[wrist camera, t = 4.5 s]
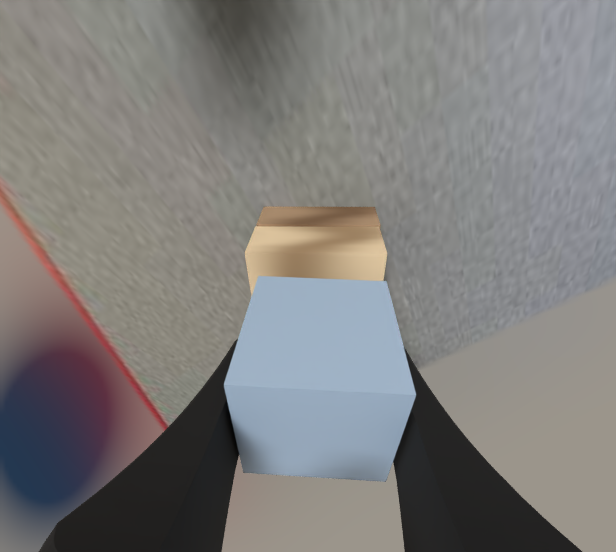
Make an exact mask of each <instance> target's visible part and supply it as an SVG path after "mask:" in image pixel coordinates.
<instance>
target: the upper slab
mask: <svg viewBox="0 0 616 552" xmlns="http://www.w3.org/2000/svg"><path fill="white" fill-rule="evenodd" d="M245 258H246V264H247V270H248V277H249V283H250V289H251V295H252V294H253V291H254V288H255V285H256V282H257V278H258V276H271V277H296V278H320V279H344V280H368V281H383V280H384V273H385V266H386V259H387V251H386V248H385V245H384V241H383V238H382V235H381V231H380V228H379V227H275V226H256V227H255V229H254V231H253V234H252V236H251V239H250V241H249V244H248V246H247V249H246V251H245Z"/></svg>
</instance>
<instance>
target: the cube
mask: <svg viewBox="0 0 616 552" xmlns="http://www.w3.org/2000/svg"><path fill="white" fill-rule="evenodd" d="M224 388H225V393H226V397H227V402H228V406H229V411H230V415H231V420H232V424H233V428H234V433H235V437H236V442H237V446H238V451H239V455H240V459H241V464H242V468H243V472H244V473H257V474H272V475H273V474H274V475H288V476H305V477H321V478H336V479H351V480H367V481H384V482H386V480H387V477H388V474H389V471H390V468H391V465H392V463H393V460H394V457H395V454H396V451H397V449H398V446H399V443H400V440H401V437H402V434H403V431H404V429H405V426H406V423H407V420H408V417H409V414H410V412H411V409H412V406H413V403H414V400H415V397H416V392H415V388H414V385H413V381H412V377H411V373H410V369H409V365H408V362H407V358H406V354H405V350H404V346H403V343H402V339H401V335H400V331H399V327H398V323H397V320H396V316H395V312H394V308H393V304H392V300H391V297H390V293H389V289H388V285H387V281H368V280H344V279H320V278H296V277H271V276H258V278H257V282H256V285H255V288H254V291H253V294H252V297H251V300H250V304H249V307H248V310H247V313H246V316H245V319H244V322H243V326H242V329H241V332H240V335H239V338H238V341H237V344H236V348H235V351H234V354H233V357H232V360H231V363H230V367H229V370H228V373H227V376H226V379H225V382H224Z"/></svg>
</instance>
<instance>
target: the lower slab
mask: <svg viewBox="0 0 616 552" xmlns="http://www.w3.org/2000/svg"><path fill="white" fill-rule="evenodd" d="M257 226H275V227H379V228H380V222H379V219H378V216H377V213H376V210H375V207H264V208H263V210H262V212H261V215H260V217H259V220H258V222H257Z"/></svg>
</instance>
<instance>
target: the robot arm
mask: <svg viewBox="0 0 616 552" xmlns="http://www.w3.org/2000/svg"><path fill="white" fill-rule="evenodd" d="M237 341H238V339H237V340H236V341H235V342H234V343H233V345H232V347H231V348H230V350H229V351H228V353H227V354H226V356H225V357H224V359H223V360H222V362H221V363H220V365H219V366H218V368H217V369H216V370H215V372H214V373H213V374H212V376H211V377H210V378H209V380H208V381H207V382H206V384H205V385H204V386H203V388H202V389H201V390H200V391H199V393H198V394H197V395H196V396H195V397H194V399H193V400H192V401H191V402H190V404H189V405H188V406H187V407H186V408H185V409H184V411H183V412H182V413H181V414H180V415H179V416H178V417H177V418H176V420H175V421H174V422H173V423H172V424H171V425H170V426H169V427H168V428H167V429H166V430H165V431H164V432H163V433H162V434H161V435H160V436H159V437H158V438H157V439H156V440H155V441H154V442H153V443H152V444H151V445H150V446H149V447H148V448H147V449H146V450H145V451H144V452H143V453H142V454H141V455H140V456H139V457H137V458H136V459H135V460H134V461H133V462H132V463H131V464H130V465H128V466H127V467H126V468H125V469H124V470H123V471H122V472H120V473H119V474H118V475H117V476H116V477H115V478H113V479H112V480H111V481H110V482H109V483H108V484H107V485H105V486H104V487H103V488H102V489H100V490H99V491H98V492H97V493H96V494H94V495H93V496H92V497H90V498H89V499H88V500H87V501H85V502H84V503H83V504H81V505H80V506H79V507H78V508H76V509H75V510H74V511H72V512H71V513H70V514H69V515H67V516H66V517H65V518H63V519H62V520H61V521H59V522H58V523H57V525H56V526H55V528H54V529H53V531H52V532H51V534H50V535H49V537H48V538H47V539H46V541H45V543H44V544H43V546H42V547H41V549H40V551H39V552H221V550H222V544H223V538H224V531H225V525H226V519H227V513H228V507H229V502H230V496H231V490H232V485H233V479H234V474H235V468H236V465H237V460H238V456H239V451H238V446H237V442H236V437H235V433H234V428H233V424H232V420H231V415H230V411H229V406H228V402H227V397H226V393H225V388H224V382H225V379H226V376H227V373H228V370H229V367H230V363H231V360H232V357H233V354H234V351H235V348H236V344H237ZM404 350H405V354H406V358H407V362H408V365H409V369H410V373H411V377H412V381H413V385H414V388H415V392H416V397H415V400H414V403H413V406H412V409H411V412H410V414H409V417H408V420H407V423H406V426H405V429H404V431H403V434H402V437H401V440H400V443H399V446H398V449H397V451H396V454H395V457H394V460H393V463H394V467H395V474H396V479H397V487H398V495H399V503H400V511H401V520H402V530H403V539H404V549H405V552H582V551H581V550H580V549H579V548H577V547H576V546H575V545H574V544H573V543H572V542H571V541H569V540H568V539H567V538H566V537H565V536H564V535H562V534H561V533H560V532H559V531H558V530H557V529H556V528H555V527H553V526H552V525H551V524H550V523H549V522H548V521H547V520H546V519H544V518H543V517H542V516H541V515H540V514H539V513H538V512H537V511H536V510H535V509H534V508H533V507H532V506H531V505H529V503H527V501H525V500H524V499H523V498H522V497H521V496H520V495H519V494H518V493H517V492H516V491H515V490H514V489H513V488H512V487H511V486H510V485H509V483H507V481H506V480H505V479H504V478H503V477H502V476H500V475H499V473H498V472H497V471H496V470H495V469H494V468H493V467H492V466H491V465H490V464H489V463H488V462H487V461H486V459H485V458H484V457H483V456H482V455H481V454H480V453H479V452H478V451H477V449H476V448H475V447H474V446H473V445H472V444H471V443H470V441H469V440H468V439H467V438H466V437H465V435H464V434H463V433H462V432H461V431H460V429H459V428H458V427H457V425H455V423H454V422H453V420H452V419H451V418H450V416H449V415H448V414H447V412H446V411H445V410H444V408H443V407H442V406H441V404H440V403H439V402H438V400H437V399H436V397H435V396H434V394H433V393H432V391H431V390H430V388H429V387H428V386H427V384H426V382H425V381H424V379H423V378H422V376H421V374H420V373H419V371H418V370H417V368H416V366H415V365H414V363H413V361H412V360H411V358H410V356H409V355H408V353H407V351H406V349H405V348H404Z"/></svg>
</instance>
